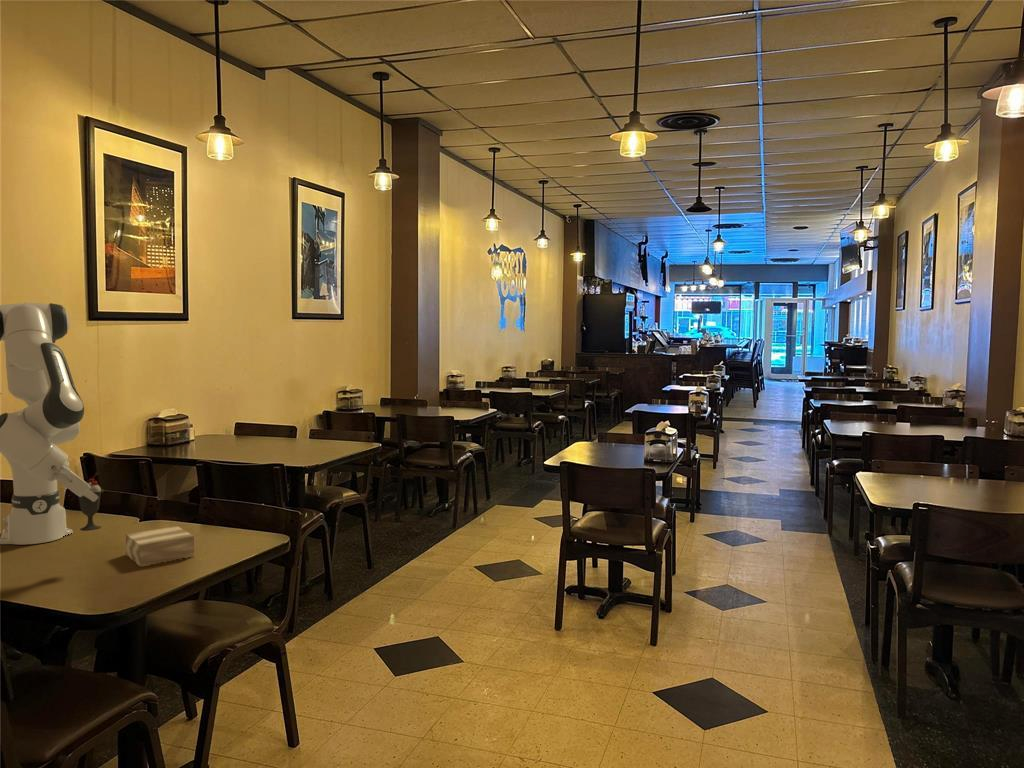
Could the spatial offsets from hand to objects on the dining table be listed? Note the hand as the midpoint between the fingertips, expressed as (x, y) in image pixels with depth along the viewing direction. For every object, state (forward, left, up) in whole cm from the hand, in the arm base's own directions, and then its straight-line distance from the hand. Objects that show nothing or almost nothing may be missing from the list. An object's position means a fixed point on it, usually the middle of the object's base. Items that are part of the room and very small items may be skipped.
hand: (92, 496), depth 193 cm
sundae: (+1, -1, -9) cm, 9 cm away
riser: (+1, +16, -19) cm, 25 cm away
